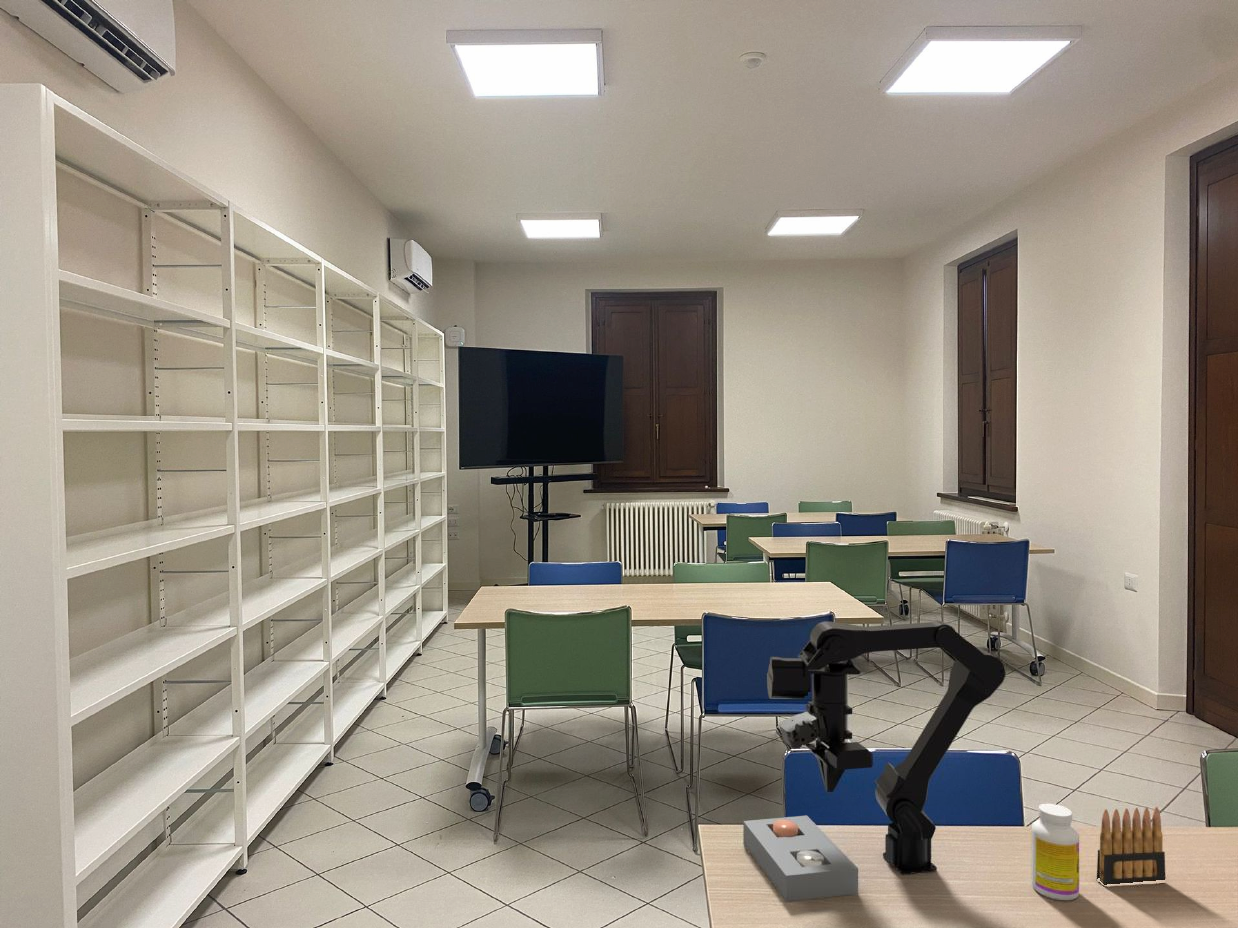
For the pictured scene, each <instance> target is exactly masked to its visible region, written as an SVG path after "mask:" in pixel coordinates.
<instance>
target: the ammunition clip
mask: <svg viewBox="0 0 1238 928" xmlns="http://www.w3.org/2000/svg"><path fill="white" fill-rule="evenodd" d="M1141 819H1142V820H1141ZM1100 830H1101V831H1100V834H1099V849H1097V863H1096V864H1097V865H1096V866H1097V867H1096V880H1097V879H1098V878H1100V881H1101V882H1102V883H1103V884H1104V885H1107V884H1120V883H1133V882H1143V881H1156V880H1165V879H1166V854H1165V851H1163V848H1164V847H1163V836H1164V835H1163V832H1162V818H1161V813H1160V809H1159V808H1158V806H1155V808H1154V810H1153V812H1152V818H1151V813H1150V811H1149V808H1148V807H1147V806H1146V807H1145V808H1144V810H1143V814H1142V818H1141V814H1140V811H1139V809H1138V807H1135V809H1134V810H1133V814H1132V820H1131V815H1130V812H1129V809H1128V808H1125V809H1124V811H1123V814H1122V819H1121V816H1120V813H1119V809H1118V808H1115V810H1114V811H1113V814H1112V818H1111V819H1110V813H1109V811H1108V809H1106V808H1105V809H1104V811H1103V813H1102V818H1101V827H1100ZM1166 880H1167V879H1166Z"/></svg>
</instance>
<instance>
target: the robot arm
mask: <svg viewBox="0 0 1238 928" xmlns="http://www.w3.org/2000/svg"><path fill="white" fill-rule="evenodd" d="M935 648H937V649H938V648H939V649H940V650H941V651H942V652H943V653H944V654H945V655H946V656H947V657H948V658H950V659H951V660H952V661H953V664H952V667H951V669H950V672H949V679H948V686H947V690H946V693H945V694H944V696H943V697H942V699H941V700H940V702H939V703H938V706H937V707H936V709H935V711H934V712H933V714H932V715H931V717H930V719H929V720H928V722H927V723H926V725H925V726H924V728H923V730H922V731H921V733H920V735H918V738H917V740H916V741H915V743H914V744H913V746H912V748H911V749H910V751H909V752H908V754H907V755H906V757H905V759H904V760H903V761H902V762H901V763H899V764H897V765H896V766H893V764H891V763H890V762H887V763H886V764H885V766H884V769H883V771H882V773H881V775H879V777H878V778H876V779H875V780H874V782H875V783H876V784H877V785H876V787H875V791H874V793H875V798H876V801H877V803H878V805H879V806H880V808H881V809H882V810H883V812H884V813H885V815H886V816H887V818H888V819H889V820H890V821H891V823H888V824H887V833H886V834H885V837H884V838H885V840H884V842H885V844H884V845H885V848H884V849H885V852H882V857H883V858H884V859H885V860H886V861H887V862H888V863H890V865H891V866H892V867H894V868H895V870H896V871H898V872H899V873H900V874H902V875H909V874H918V873H928V872H937V871H938V869H937V868H938V867H937V866H936V865H935V864H934V863H933V862H932V839H933V837H934V834H935V832H936V829H937V826H936V825H935V824H934V823H933V821H932V820H931V819H930V818H929V816H928V815H927V814H926V812H925V811H924V807H925V804H926V802H927V799H928V791H929V783H930V779H931V778H932V776H933V774H934V773H935V771H936V770H937V769H938V766H939V765H940V763H941V761H942V760H943V758H944V757H945V755H946V753H947V751H948V750H949V749H950V747H951V746H952V745H953V742H954V740H955V739H956V737H957V736H958V734H959V732H960V731H961V729H962V727H963V726H964V724H965V723H966V721H967V720H968V718H969V716H970V715H971V713H972V712H973V709H974V708H975V707H977V706H978V705H980V704H981V703H983V702H984V701H986V700H987V699H989V698H991V696H993V694H994V693H995V692H996V691H997V690H998V688H1000V686H1002V684H1003V683H1004V681H1005V679H1006V674H1007V672H1006V670H1005V669H1006V668H1005V666H1004V664H1003V662H1002V660H1000V659H999V658H998V657H996V656H995V655H993V654H991V653H989V652H988V651H985V650H984V649H982V648H980V647H977V646H974V644H972V643H971V642H970V641H969V640H967V639H966V638H964V637H963V636H962V635H961V634H959V633H958V632H957V631H956V629H955V628H954V627H953V626H952V625H949V624H948V623H946V622H945V621H942V620H938V619H937V620H936V619H935V620H932V621H929V622H928V621H927V622H915V623H914V622H912V623H899V624H886V625H885V624H884V625H871V626H863V625H856V624H850V623H845V622H838V621H837V622H835V621H822V622H819V623H817V624H816V625H815V626H814V628H812V630H811V632H810V638H809V640H808V642H807V644H806V645H805V646H804V647H803V648H802V650H800V653H799V654H797V658H796V657H794V658H793V657H790V658H789V657H779V656H770V658H769V664H768V671H767V673H766V684H767V685H766V686H767V687H766V688H767V694H768V699H770V700H772V699H773V700H777V699H778V700H779V699H780V700H782V699H783V700H785V699H786V700H804V699H805V697H808V696H809V694H810V693H811V692H812V701H807V703H806V708H805V711H803V712H802V713H797V714H795V715H793V716H791V717H788V718H786V719H784V720H782V721H780V722H779V723H778V727H779V730H780V732H781V736H782V739H783V742H784V743H785V744H787V745H788V746H789V747H790V748H791V749H793V750H796V749H800V748H802V746H805V747H806V749H808V750H809V751H810V752H811V753H812V754H813V755H814V756H815V758H816V760H817V761H816V762H817V763H818V764H817V765H818V767H819V771H820V774H821V775H820V776H821V778H822V782H823V785H824V789H825V791H826V793H832V792H835V789H836V788H837V785H838V784H839V782H840V780H841V778H842V776H843V774H844V773H845V771H846V770H855V769H857V770H858V769H869V768H872V767H873V766H874V765H873V762H874V759H873V758H874V757H873V756H874V754H873V753H872V752H871V751H870V750H869V749H868V748H866V747H865V746H863V745H862V744H861V743H859V742H858V741H852V742H850V741H847V740H852V739H853V732H852V731H850V730H849V729H848V715H853V707H851V706H849V705H848V702H849V701H848V697H849V696H848V695H849V694H848V693H849V692H848V680H849V679H848V676H849V675H858V676H859V675H861V673H862V672H861V670H860V669H859V668H858V667H857V666H856V665H854V663H853V661H852V660H854V659H858V658H859V657H862V656H863V655H866V654H869V653H874V652H876V653H877V652H878V653H879V652H890V651H891V652H893V651H907V650H922V649H923V650H924V649H935ZM811 677H812V678H811Z"/></svg>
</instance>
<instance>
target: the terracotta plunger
mask: <svg viewBox="0 0 1238 928" xmlns="http://www.w3.org/2000/svg"><path fill="white" fill-rule="evenodd" d="M773 833H774V834H775V835H776V837H777V838H779V837H790V836H798V825H797V824H796V823H794V822H792V821H788V820H778V821H775V822H774V823H773Z"/></svg>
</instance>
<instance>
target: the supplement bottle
mask: <svg viewBox="0 0 1238 928" xmlns="http://www.w3.org/2000/svg"><path fill="white" fill-rule="evenodd" d="M1038 817H1039V819H1037V820H1036V821H1034V822H1033V824H1032V825H1031V862H1030V863H1031V873H1030V874H1031V878H1030V879H1031V885H1032V887H1033V888H1034V890H1035V892H1036V891H1037V893H1039V894H1040V895H1042V896H1044V897H1047V898H1050V899H1053V900H1058V901H1073V900H1076V899H1077V898H1078V896H1079V895H1080V835H1079V833H1078V830H1077V829H1076V828H1075V827H1074V826H1072V822H1073V812H1072V811H1071V809H1069V808H1067V807H1066V806H1063V805H1059V804H1054V803H1042V804H1039V805H1038Z"/></svg>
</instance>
